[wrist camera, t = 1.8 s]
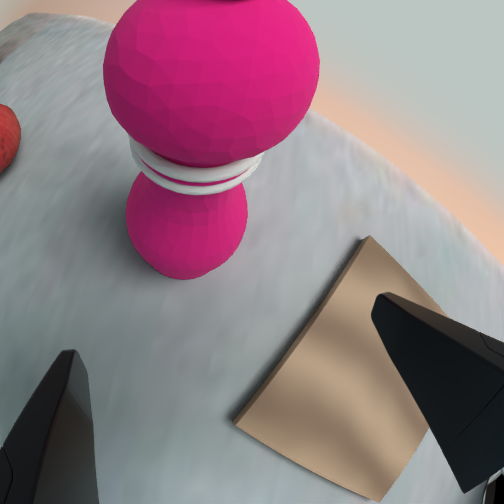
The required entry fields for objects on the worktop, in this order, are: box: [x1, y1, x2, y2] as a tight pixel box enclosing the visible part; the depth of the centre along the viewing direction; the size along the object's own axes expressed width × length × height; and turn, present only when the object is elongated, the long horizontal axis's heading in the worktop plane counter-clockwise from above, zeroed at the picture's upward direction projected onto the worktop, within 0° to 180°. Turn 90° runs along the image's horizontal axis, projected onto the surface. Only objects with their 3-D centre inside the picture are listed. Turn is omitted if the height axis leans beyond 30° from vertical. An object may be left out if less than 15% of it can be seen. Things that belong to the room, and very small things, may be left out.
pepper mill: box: [103, 0, 320, 280], centre depth 13 cm, size 7×7×20 cm
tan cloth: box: [233, 235, 449, 502], centre depth 22 cm, size 18×16×1 cm
